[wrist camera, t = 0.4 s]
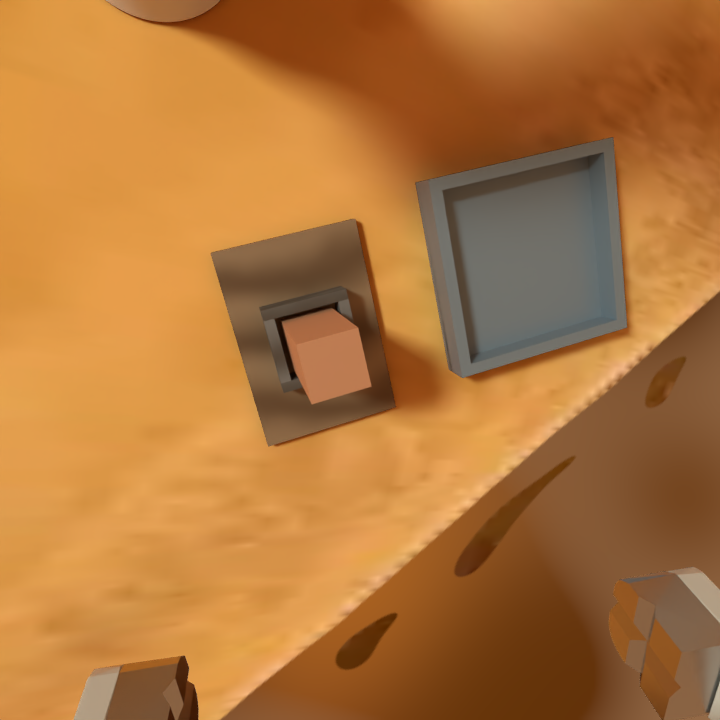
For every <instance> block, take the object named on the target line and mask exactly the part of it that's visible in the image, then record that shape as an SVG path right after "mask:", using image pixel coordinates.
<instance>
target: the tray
mask: <svg viewBox="0 0 720 720" xmlns="http://www.w3.org/2000/svg"><path fill="white" fill-rule="evenodd" d="M416 189H417V194H418V200H419V205H420V211H421V217H422V222H423V228H424V233H425V239H426V245H427V250H428V256H429V261H430V267H431V272H432V278H433V284H434V289H435V295H436V300H437V306H438V312H439V317H440V323H441V328H442V334H443V339H444V345H445V351H446V356H447V362H448V367H449V370H451V371H452V372H454V373H455V374H457V375H458V376H460V377H462V378H464V377H467V376H470V375H474V374H477V373H480V372H484V371H487V370H490V369H493V368H497V367H500V366H503V365H506V364H510V363H513V362H516V361H519V360H523V359H526V358H529V357H533V356H536V355H539V354H542V353H546V352H549V351H552V350H555V349H559V348H562V347H565V346H568V345H572V344H575V343H578V342H582V341H585V340H588V339H591V338H595V337H598V336H601V335H604V334H608V333H611V332H614V331H617V330H621V329H624V328H627V319H626V305H625V291H624V278H623V264H622V250H621V236H620V223H619V209H618V195H617V181H616V168H615V154H614V140H613V137H611V138H607V139H602V140H598V141H593V142H589V143H585V144H580V145H576V146H572V147H567V148H563V149H559V150H554V151H550V152H546V153H541V154H537V155H533V156H528V157H524V158H520V159H515V160H511V161H507V162H502V163H498V164H494V165H489V166H485V167H481V168H476V169H472V170H468V171H464V172H459V173H455V174H451V175H446V176H442V177H438V178H433V179H429V180H425V181H420V182H416Z"/></svg>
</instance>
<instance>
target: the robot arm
mask: <svg viewBox="0 0 720 720" xmlns="http://www.w3.org/2000/svg"><path fill="white" fill-rule="evenodd" d="M106 1H107V2H109V3H110V4H112V5H113V6H115V7H117V8H118V9H120V10H122V11H124V12H126V13H128V14H131V15H133V16H136V17H139V18H142V19H146V20H151V21H158V22H176V21H183V20H187V19H191V18H194V17H196V16H199V15H201V14H203V13H205V12H206V11H208V10H209V9H211V8H212V7H214V6H215V5H216V4H217V3H218V2H219V1H220V0H106ZM613 595H614V596H615V597H616V599H617V600H618V603H617V604H616V605H615V606H614V607H613V608H612V609H611V610H610V616H609V628H610V632H611V638H612V640H613V642H614V645H615V647H616V649H617V651H618V653H619V655H620V656H621V658H622V659H623V661H624V663H625V664H627V665H628V666H630V667H631V668H633V669H634V670H636V671H638V672H639V673H640V687H641V689H642V690H643V692H644V693H645V695H646V697H647V698H648V700H649V701H650V703H651V704H652V706H653V707H654V709H655V710H656V712H657V713H658V715H659V717H660V718H661V719H662V720H679V719H684V718H690V717H696V716H703V715H709V718H710V719H711V720H720V590H719V589H718V588H717V587H716V585H715V584H714V583H713V582H712V581H710V579H709V578H708V577H707V576H706V575H705V574H704V573H703V572H702V571H701V570H699V569H697V568H695V567H689V568H683V569H677V570H672V571H662V572H657V573H652V574H647V575H641V576H636V577H631V578H625V579H620V580H619V581H618V582H617V583H616V584H615V587H614V592H613ZM188 672H189V666H188V663H187V661H186V658H185V656H178V657H171V658H164V659H157V660H150V661H143V662H136V663H129V664H123V665H117V666H110V667H104V668H98V669H94V670H93V672H92V673H91V675H90V676H89V678H88V679H87V682H86V685H85V688H84V691H83V694H82V697H81V699H80V702H79V705H78V708H77V711H76V714H75V717H74V720H198V700H197V693H196V690H195V686H194V684H192V683H190V682H189V681H187V679H188Z"/></svg>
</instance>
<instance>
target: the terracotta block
mask: <svg viewBox="0 0 720 720" xmlns="http://www.w3.org/2000/svg"><path fill="white" fill-rule="evenodd" d="M280 322H281V326H282V330H283V333H284V337H285V341H286V344H287V348H288V352H289V356H290V359H291V363H292V367H293V369H294V370H295V372H296V374H297V376H298V378H299V380H300V382H301V384H302V386H303V388H304V390H305V392H306V394H307V396H308V398H309V400H310V402H311V404H315V403H318V402H322V401H325V400H328V399H332V398H335V397H338V396H342V395H345V394H348V393H352V392H355V391H358V390H362V389H365V388H368V387H372V386H371V382H370V378H369V373H368V369H367V364H366V360H365V356H364V351H363V347H362V342H361V338H360V334H359V329H358V327H357V326H355V325H354V324H353V323H351V322H350V321H349V320H347V319H346V318H345V317H343V316H342V315H341V314H339V313H338V312H337V311H335V310H334V309H333V308H331V307H330V306H326V307H322V308H318V309H314V310H311V311H307V312H303V313H299V314H296V315H292V316H288V317H284V318H281V319H280Z"/></svg>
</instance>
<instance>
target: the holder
mask: <svg viewBox="0 0 720 720" xmlns="http://www.w3.org/2000/svg"><path fill="white" fill-rule="evenodd" d="M211 256H212V259H213V263H214V266H215V269H216V273H217V276H218V280H219V283H220V286H221V290H222V293H223V296H224V300H225V303H226V306H227V310H228V313H229V316H230V320H231V323H232V326H233V330H234V333H235V336H236V340H237V343H238V347H239V350H240V353H241V357H242V360H243V363H244V367H245V370H246V373H247V377H248V380H249V383H250V387H251V390H252V393H253V397H254V400H255V403H256V407H257V410H258V414H259V417H260V420H261V424H262V427H263V430H264V434H265V437H266V440H267V444H268V447H269V446H272V445H275V444H278V443H282V442H285V441H288V440H291V439H295V438H298V437H301V436H304V435H307V434H311V433H314V432H317V431H320V430H324V429H327V428H330V427H333V426H337V425H340V424H343V423H346V422H349V421H353V420H356V419H359V418H362V417H366V416H369V415H372V414H375V413H379V412H382V411H385V410H388V409H392V408H395V407H396V405H395V401H394V396H393V391H392V387H391V382H390V377H389V373H388V368H387V364H386V359H385V354H384V350H383V345H382V340H381V336H380V331H379V326H378V322H377V317H376V312H375V308H374V303H373V298H372V294H371V289H370V284H369V280H368V275H367V270H366V266H365V261H364V257H363V252H362V247H361V243H360V238H359V233H358V229H357V224H356V219H350V220H346V221H342V222H338V223H334V224H330V225H325V226H321V227H317V228H313V229H309V230H304V231H300V232H296V233H292V234H288V235H283V236H279V237H275V238H271V239H267V240H262V241H258V242H254V243H250V244H246V245H242V246H237V247H233V248H229V249H225V250H221V251H216V252H212V253H211ZM326 306H330V307H331V308H333V309H334V310H335V311H337V312H338V313H339V314H341V315H342V316H343V317H345V318H346V319H347V320H349V321H350V322H351V323H353V324H354V325H355V326H357V327H358V329H359V334H360V338H361V342H362V347H363V351H364V356H365V360H366V364H367V369H368V373H369V378H370V382H371V386H372V387H368V388H365V389H362V390H358V391H355V392H352V393H348V394H345V395H342V396H338V397H335V398H332V399H328V400H325V401H322V402H318V403H315V404H311V402H310V400H309V398H308V396H307V394H306V392H305V390H304V388H303V386H302V384H301V382H300V380H299V378H298V376H297V374H296V372H295V370H294V369H293V367H292V363H291V359H290V356H289V352H288V348H287V344H286V341H285V337H284V333H283V330H282V326H281V322H280V319H281V318H284V317H288V316H292V315H296V314H299V313H303V312H307V311H311V310H314V309H318V308H322V307H326Z"/></svg>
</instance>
